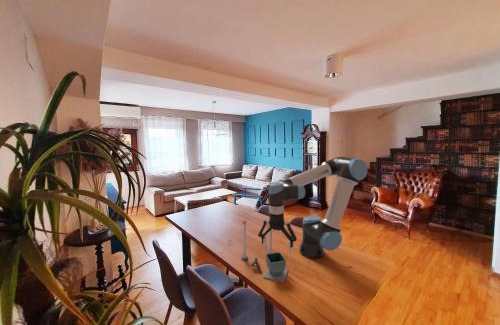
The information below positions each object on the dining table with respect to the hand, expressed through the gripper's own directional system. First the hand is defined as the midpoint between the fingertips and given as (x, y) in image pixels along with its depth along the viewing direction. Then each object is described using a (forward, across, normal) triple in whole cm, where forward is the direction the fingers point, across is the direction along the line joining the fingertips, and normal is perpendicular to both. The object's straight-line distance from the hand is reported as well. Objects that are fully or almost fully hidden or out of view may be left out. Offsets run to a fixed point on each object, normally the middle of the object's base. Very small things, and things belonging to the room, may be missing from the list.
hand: (277, 251), depth 114 cm
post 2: (+13, -6, +8) cm, 17 cm away
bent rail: (+13, -12, +3) cm, 18 cm away
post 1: (+13, -22, +8) cm, 27 cm away
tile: (+13, -1, 0) cm, 13 cm away
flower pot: (+13, -1, 0) cm, 13 cm away
